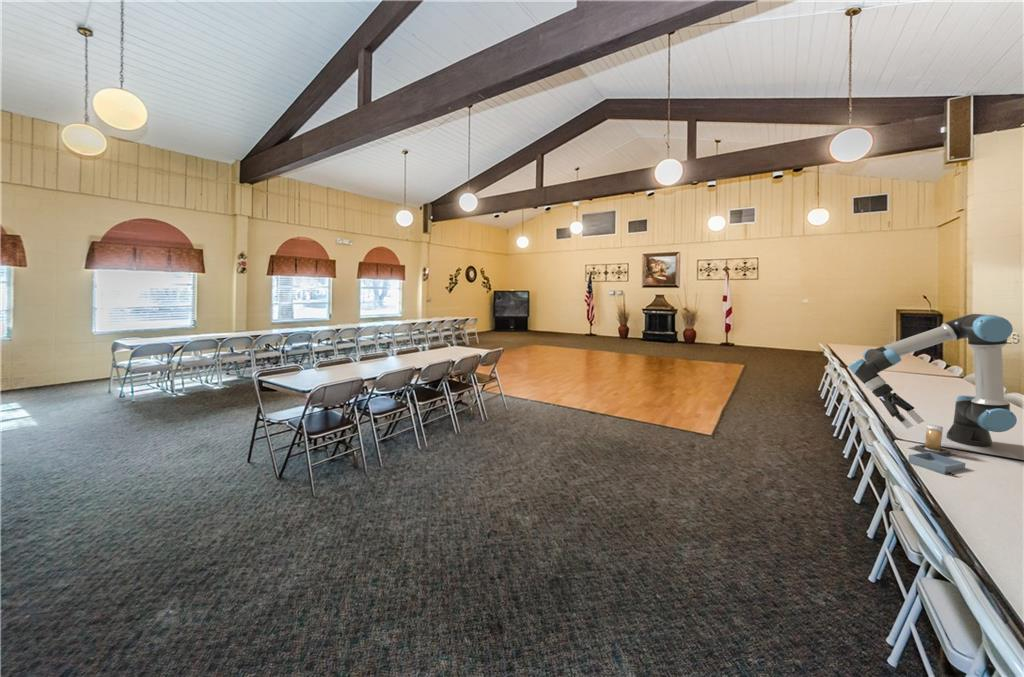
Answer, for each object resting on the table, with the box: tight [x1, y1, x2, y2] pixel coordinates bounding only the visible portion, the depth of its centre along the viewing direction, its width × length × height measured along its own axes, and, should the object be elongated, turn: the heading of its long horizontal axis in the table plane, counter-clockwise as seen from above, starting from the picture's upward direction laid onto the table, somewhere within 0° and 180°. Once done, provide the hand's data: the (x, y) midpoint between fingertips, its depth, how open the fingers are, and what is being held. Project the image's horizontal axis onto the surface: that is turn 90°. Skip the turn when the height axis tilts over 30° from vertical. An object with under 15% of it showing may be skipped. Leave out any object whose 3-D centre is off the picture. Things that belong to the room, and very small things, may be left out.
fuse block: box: [907, 443, 957, 458], centre depth 187 cm, size 12×12×2 cm
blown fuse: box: [924, 424, 944, 452], centre depth 186 cm, size 5×5×12 cm
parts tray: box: [907, 452, 967, 476], centre depth 173 cm, size 12×12×4 cm
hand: (916, 424), depth 190 cm, fingers open, 13 cm apart
